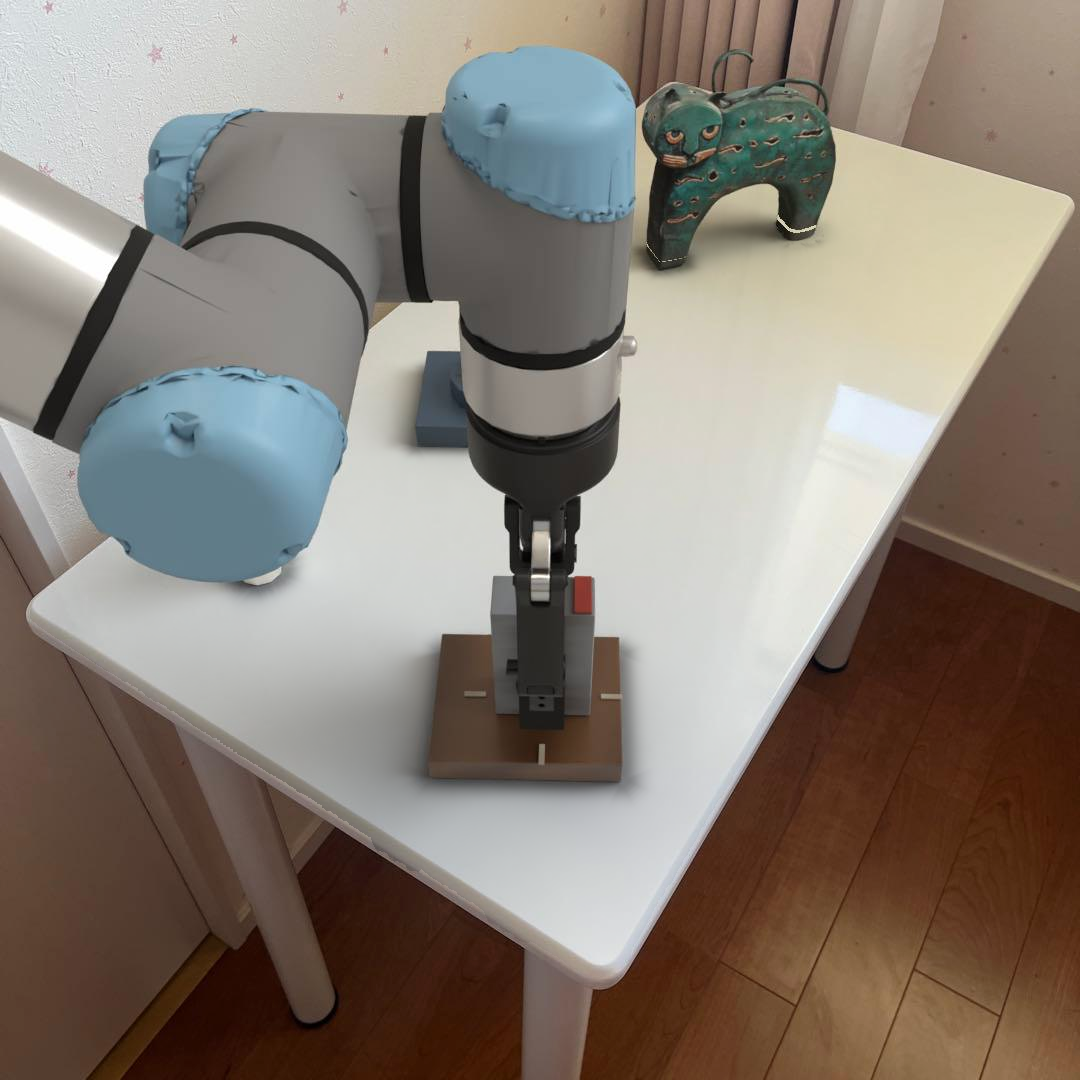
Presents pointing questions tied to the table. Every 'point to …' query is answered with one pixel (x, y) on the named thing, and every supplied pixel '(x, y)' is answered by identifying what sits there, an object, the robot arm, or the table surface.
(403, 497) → the table surface
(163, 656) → the table surface
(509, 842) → the table surface
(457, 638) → the panel
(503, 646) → the grey slab
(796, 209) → the ceramic cat
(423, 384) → the button block
